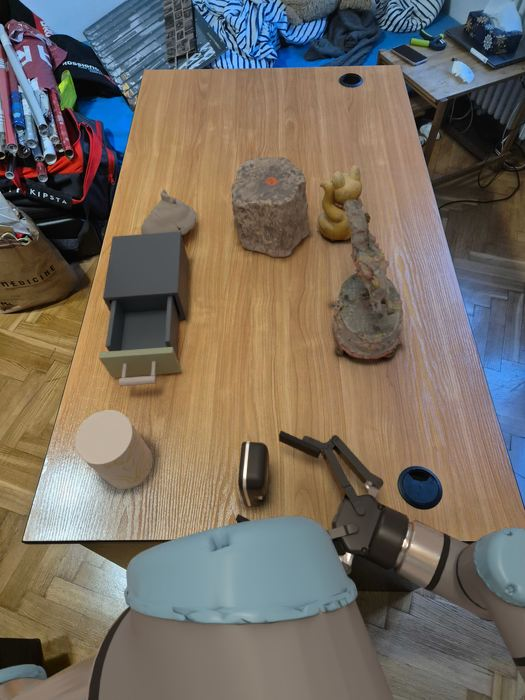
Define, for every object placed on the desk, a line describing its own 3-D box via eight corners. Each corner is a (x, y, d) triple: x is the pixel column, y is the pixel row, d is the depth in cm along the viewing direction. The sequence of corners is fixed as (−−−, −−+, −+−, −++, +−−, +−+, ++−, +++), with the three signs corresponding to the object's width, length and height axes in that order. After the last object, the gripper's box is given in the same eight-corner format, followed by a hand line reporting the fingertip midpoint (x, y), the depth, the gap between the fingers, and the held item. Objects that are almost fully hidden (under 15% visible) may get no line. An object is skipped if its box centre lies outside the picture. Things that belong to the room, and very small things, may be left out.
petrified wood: (240, 197, 110) (234, 138, 97) (314, 202, 108) (317, 143, 95) (224, 255, 100) (215, 199, 87) (305, 262, 98) (308, 205, 85)
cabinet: (186, 320, 91) (177, 292, 84) (117, 325, 91) (102, 298, 84) (188, 261, 100) (180, 231, 92) (125, 266, 100) (112, 236, 93)
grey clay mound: (156, 223, 110) (149, 178, 103) (205, 227, 109) (201, 182, 102) (137, 248, 101) (128, 201, 94) (190, 253, 100) (185, 206, 93)
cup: (130, 498, 73) (105, 475, 63) (92, 472, 76) (62, 445, 66) (162, 455, 77) (143, 426, 67) (125, 432, 79) (101, 400, 69)
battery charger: (268, 508, 71) (265, 487, 62) (243, 507, 72) (237, 486, 62) (271, 464, 75) (268, 437, 66) (247, 463, 75) (241, 436, 66)
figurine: (329, 279, 95) (341, 175, 74) (393, 280, 94) (424, 175, 73) (331, 365, 84) (345, 272, 63) (403, 367, 84) (443, 273, 62)
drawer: (179, 393, 82) (171, 374, 76) (109, 398, 82) (95, 380, 76) (183, 308, 92) (176, 286, 86) (120, 313, 92) (109, 291, 86)
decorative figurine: (345, 212, 105) (353, 153, 93) (369, 233, 102) (381, 175, 89) (311, 231, 103) (314, 172, 90) (335, 253, 99) (342, 195, 86)
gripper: (364, 642, 60) (220, 562, 66) (421, 470, 71) (295, 415, 77) (373, 642, 54) (213, 553, 59) (434, 453, 65) (295, 394, 71)
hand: (259, 475), depth 68 cm, fingers open, 13 cm apart
